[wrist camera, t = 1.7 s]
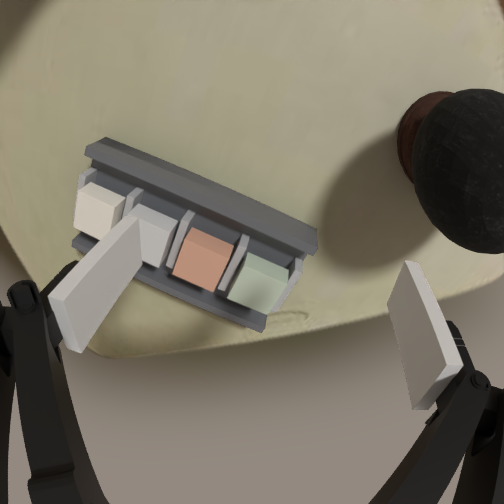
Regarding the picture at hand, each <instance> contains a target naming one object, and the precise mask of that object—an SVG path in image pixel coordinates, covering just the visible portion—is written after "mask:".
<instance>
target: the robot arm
mask: <svg viewBox="0 0 504 504" xmlns="http://www.w3.org/2000/svg"><path fill="white" fill-rule="evenodd" d="M141 265H142V254H141V242H140V228H139V218H137V217H130V216H125V217H124V218H123V219H122V220H121V221H120V222H118V223H117V224H116V225H115V226H114V227H113V228H112V229H111V230H110V231H109V232H108V233H107V234H106V235H105V236H104V237H103V238H102V239H101V240H100V241H99V242H98V243H97V244H96V245H95V246H94V247H93V248H92V249H91V250H90V251H89V252H88V253H87V254H86V255H85V256H84V257H83V258H82V259H81V260H80V261H76V260H75V261H73V262H71V263H69V264H68V265H66V266H65V267H64V268H63V269H62V270H61V271H60V272H59V274H57V275H56V276H55V277H54V280H53V279H52V280H51V282H50V283H49V284H48V285H47V286H46V287H45V288H44V289H43V290H42V291H41V292H40V293H39V292H38V289H37V286H36V283H35V282H33V281H31V280H22V281H19V282H16V283H15V284H13V285H12V286H11V287H10V288H9V289H8V292H7V296H8V299H9V301H10V304H11V306H12V307H5V306H2V304H1V301H0V504H8V449H9V433H10V421H11V412H12V403H13V395H14V389H15V382H16V388H17V397H18V405H19V413H20V419H21V426H22V431H23V437H24V442H25V447H26V452H27V456H28V461H29V465H30V470H31V478H30V479H29V480H28V485H27V486H28V491H29V495H30V498H31V502H32V504H109V502H108V501H107V499H106V498H105V496H104V494H103V492H102V490H101V487H100V485H99V482H98V480H97V477H96V475H95V472H94V470H93V467H92V465H91V461H90V459H89V456H88V453H87V450H86V447H85V444H84V441H83V438H82V435H81V432H80V428H79V425H78V422H77V418H76V415H75V411H74V407H73V404H72V400H71V396H70V392H69V388H68V384H67V379H66V375H65V371H64V366H63V361H62V355H61V351H60V348H59V346H58V345H59V343H60V342H61V340H62V339H63V340H64V342H65V345H66V348H67V349H70V350H73V351H76V352H78V353H82V352H83V350H84V349H85V347H86V346H87V344H88V343H89V341H90V340H91V338H92V337H93V335H94V333H95V332H96V330H97V329H98V327H99V326H100V324H101V323H102V321H103V320H104V318H105V317H106V315H107V314H108V312H109V311H110V310H111V308H112V307H113V305H114V304H115V302H116V301H117V299H118V298H119V296H120V295H121V294H122V292H123V291H124V289H125V288H126V286H127V285H128V284H129V282H130V281H131V279H132V278H133V277H134V275H135V274H136V272H137V271H138V270H139V268H140V267H141ZM387 306H388V310H389V313H390V317H391V320H392V324H393V328H394V331H395V335H396V339H397V343H398V347H399V351H400V355H401V359H402V363H403V368H404V372H405V376H406V380H407V385H408V390H409V395H410V400H411V404H412V409H413V410H428V409H429V408H430V407H431V406H432V405H433V404H434V402H435V401H436V404H437V408H438V409H437V410H436V411H435V412H434V413H433V414H432V416H431V417H430V418H429V419H428V420H427V421H426V422H425V424H427V425H426V426H425V428H424V430H423V431H422V433H421V434H420V436H419V437H418V439H417V440H416V442H415V443H414V445H413V446H412V448H411V449H410V451H409V452H408V454H407V455H406V456H405V458H404V459H403V460H402V462H401V463H400V465H399V466H398V467H397V469H396V470H395V471H394V473H393V474H392V475H391V477H390V478H389V479H388V480H387V482H386V483H385V484H384V485H383V487H382V488H381V489H380V490H379V492H378V493H377V494H376V495H375V496H374V498H373V499H372V500H371V501H370V502H369V504H437V503H438V501H439V500H440V498H441V496H442V495H443V493H444V491H445V490H446V488H447V486H448V484H449V483H450V480H451V478H452V477H453V475H454V473H455V472H456V470H457V468H458V466H459V463H460V462H461V460H462V458H463V456H464V454H465V457H464V461H463V466H462V470H461V474H460V478H459V481H458V485H457V489H456V493H455V496H454V499H453V502H452V504H504V389H499V388H497V387H493V386H491V384H490V381H489V379H488V378H487V377H486V376H485V375H484V374H483V373H482V372H480V371H477V370H475V368H474V366H473V363H472V361H471V358H470V356H469V353H468V351H467V349H466V347H465V344H464V341H463V340H462V337H461V334H460V332H459V330H458V328H457V327H456V326H455V325H454V324H453V322H452V321H447V320H445V318H444V316H443V314H442V312H441V309H440V307H439V305H438V303H437V301H436V298H435V296H434V294H433V292H432V290H431V288H430V286H429V284H428V282H427V280H426V278H425V276H424V274H423V272H422V270H421V268H420V266H419V264H418V262H412V261H406V260H405V261H404V263H403V266H402V268H401V271H400V273H399V276H398V278H397V281H396V283H395V286H394V288H393V291H392V293H391V295H390V298H389V300H388V302H387Z"/></svg>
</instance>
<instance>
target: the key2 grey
mask: <svg viewBox="0 0 504 504" xmlns="http://www.w3.org/2000/svg"><path fill="white" fill-rule="evenodd" d="M128 216H130V217H137V218H139V228H140V242H141V254H142V261H145V262H147V263H149V264H151V265H153V266H155V267H158V268H159V267H160V265H161V264H162V262H163V260H164V259H165V257H166V256H167V253H168V250H169V247H170V244H171V241H172V238H173V235H174V232H175V229H176V226H177V223H178V221H177V220H175V219H173V218H170V217H168V216H166V215H164V214H162V213H159V212H157V211H155V210H153V209H150V208H148V207H146V206H144V205H141V204H139V203H138V204H137V205H136V206H135V207H134V208H133V209H132V210H131V211H130V212H129V213H128Z"/></svg>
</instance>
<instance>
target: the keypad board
mask: <svg viewBox="0 0 504 504" xmlns="http://www.w3.org/2000/svg"><path fill="white" fill-rule="evenodd" d="M84 155H85V156H87V157H90V158H92V159H93V160H92V165H91V168H89V169H87V170H86V171H84V172H82V173H81V174H80V176H79V182H78V188H77V195H78V190H80V189H81V188H82V187H84V186H85V185H87V184H88V183H90V182H92V183H94V184H96V185H99V186H101V187H103V188H105V189H108V190H110V191H112V192H114V193H117V194H119V195H121V196H123V197H126V200H125V204H124V208H123V212H122V217H121V220H122V219H123V218H124V217H125V216H128V213H129V212H130V211H131V210H132V209H133V208H134V207H135V206H136V205H137V204H138V203H139V204H141V205H144V206H146V207H148V208H150V209H153V210H155V211H157V212H159V213H162V214H164V215H166V216H168V217H170V218H173V219H175V220H177V221H178V223H177V226H176V229H175V232H174V235H173V238H172V241H171V244H170V247H169V250H168V253H167V256H166V257H165V259H164V260H163V262H162V264H161V265H160V267H159V268H158V267H155V266H153V265H151V264H149V263H147V262H145V261H142V265H141V267H140V268H139V270H138V271H137V272H136V274H135V275H134V277H133V278H136V279H138V280H140V281H142V282H144V283H146V284H148V285H150V286H153V287H155V288H157V289H159V290H161V291H163V292H166V293H168V294H170V295H172V296H175V297H177V298H179V299H181V300H184V301H186V302H188V303H190V304H193V305H195V306H197V307H200V308H202V309H204V310H207V311H209V312H211V313H214V314H216V315H218V316H221V317H223V318H225V319H228V320H230V321H233V322H235V323H238V324H240V325H243V326H245V327H247V328H250V329H252V330H255V331H258V332H260V333H262V332H263V330H264V329H265V325H266V318H267V315H266V314H264V313H261V312H259V311H256V310H254V309H251V308H249V307H247V306H244V305H242V304H239V303H237V302H235V301H232V300H230V299H228V298H227V297H228V293H229V290H230V287H231V284H232V282H233V280H234V278H235V276H236V274H237V272H238V270H239V268H240V266H241V264H242V262H243V260H244V258H245V257H246V255H247V253H248V252H249V253H251V254H254V255H256V256H258V257H260V258H263V259H265V260H267V261H269V262H272V263H274V264H276V265H278V266H281V267H283V268H285V269H287V270H289V274H288V285H287V286H286V288H285V289H284V291H283V292H282V294H281V295H280V297H279V299H278V300H277V302H276V303H275V305H274V306H273V308H272V309H271V311H272V312H274V313H276V312H277V310H278V309H279V307H280V306H281V304H282V303H283V301H284V300H285V298H286V297H287V295H288V294H289V292H290V291H291V289H292V288H293V286H294V285H295V283H296V282H297V280H298V279H299V277H300V276H301V274H302V261H303V260H304V258H305V257H306V255H307V254H310V255H312V256H313V255H314V254H315V252H316V251H317V249H318V241H317V230H316V229H315V228H313V227H311V226H309V225H307V224H305V223H303V222H301V221H299V220H297V219H295V218H292V217H290V216H288V215H286V214H284V213H282V212H280V211H277V210H275V209H273V208H271V207H269V206H267V205H265V204H262V203H260V202H258V201H256V200H254V199H251V198H249V197H247V196H245V195H243V194H240V193H238V192H236V191H234V190H231V189H229V188H227V187H225V186H222V185H220V184H218V183H216V182H213V181H211V180H209V179H206V178H204V177H202V176H200V175H197V174H195V173H193V172H190V171H188V170H186V169H183V168H181V167H178V166H176V165H174V164H171V163H169V162H167V161H164V160H162V159H159V158H157V157H154V156H152V155H150V154H147V153H145V152H142V151H140V150H137V149H135V148H132V147H130V146H127V145H125V144H122V143H120V142H117V141H115V140H112V139H109V138H107V137H105V138H103V139H101V140H99V141H96V142H94V143H92V144H90V145H88V146H86V149H85V154H84ZM77 195H76V202H77ZM76 202H75V210H76ZM75 210H74V218H75ZM74 218H73V222H74ZM192 227H193V228H195V229H197V230H200V231H202V232H204V233H206V234H209V235H211V236H213V237H215V238H218V239H220V240H222V241H224V242H227V243H229V244H231V245H233V246H234V247H233V250H232V253H231V256H230V258H229V261H228V263H227V265H226V267H225V269H224V271H223V273H222V275H221V277H220V279H219V281H218V283H217V286H216V288H215V290H214V292H211V291H209V290H207V289H204V288H202V287H200V286H198V285H195V284H193V283H191V282H189V281H186V280H184V279H182V278H180V277H177V276H175V275H173V274H172V273H173V270H174V267H175V265H176V262H177V259H178V256H179V253H180V250H181V248H182V245H183V242H184V239H185V238H186V236H187V234H188V233H189V231H190V230H191V228H192ZM99 241H100V240H99V239H97V238H95V237H93V236H91V235H88V234H86V233H84V232H82V231H81V232H80V233H79V234H78V235H77V236H76V237H75V238H74V239H73V240H72V247H73V248H75V249H77V250H79V251H81V252H83V253H85V254H87V253H88V252H89V251H90V250H91V249H92V248H93V247H94V246H95V245H96V244H97V243H98V242H99Z"/></svg>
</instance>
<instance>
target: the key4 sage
mask: <svg viewBox="0 0 504 504" xmlns="http://www.w3.org/2000/svg"><path fill="white" fill-rule="evenodd" d="M288 274H289V270H287V269H285V268H283V267H281V266H278V265H276V264H274V263H272V262H269V261H267V260H265V259H263V258H260V257H258V256H256V255H254V254H251V253H249V252H248V253H247V255H246V257H245V258H244V260H243V262H242V264H241V266H240V268H239V270H238V272H237V274H236V276H235V278H234V280H233V282H232V284H231V287H230V290H229V293H228V297H227V298H228V299H230V300H232V301H235V302H237V303H239V304H242V305H244V306H247V307H249V308H251V309H254V310H256V311H259V312H261V313H264V314H266V315H268V314H269V312H270V311H271V309H272V308H273V306H274V305H275V303H276V302H277V300H278V299H279V297H280V295H281V294H282V292H283V291H284V289H285V288H286V286H287V285H288Z"/></svg>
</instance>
